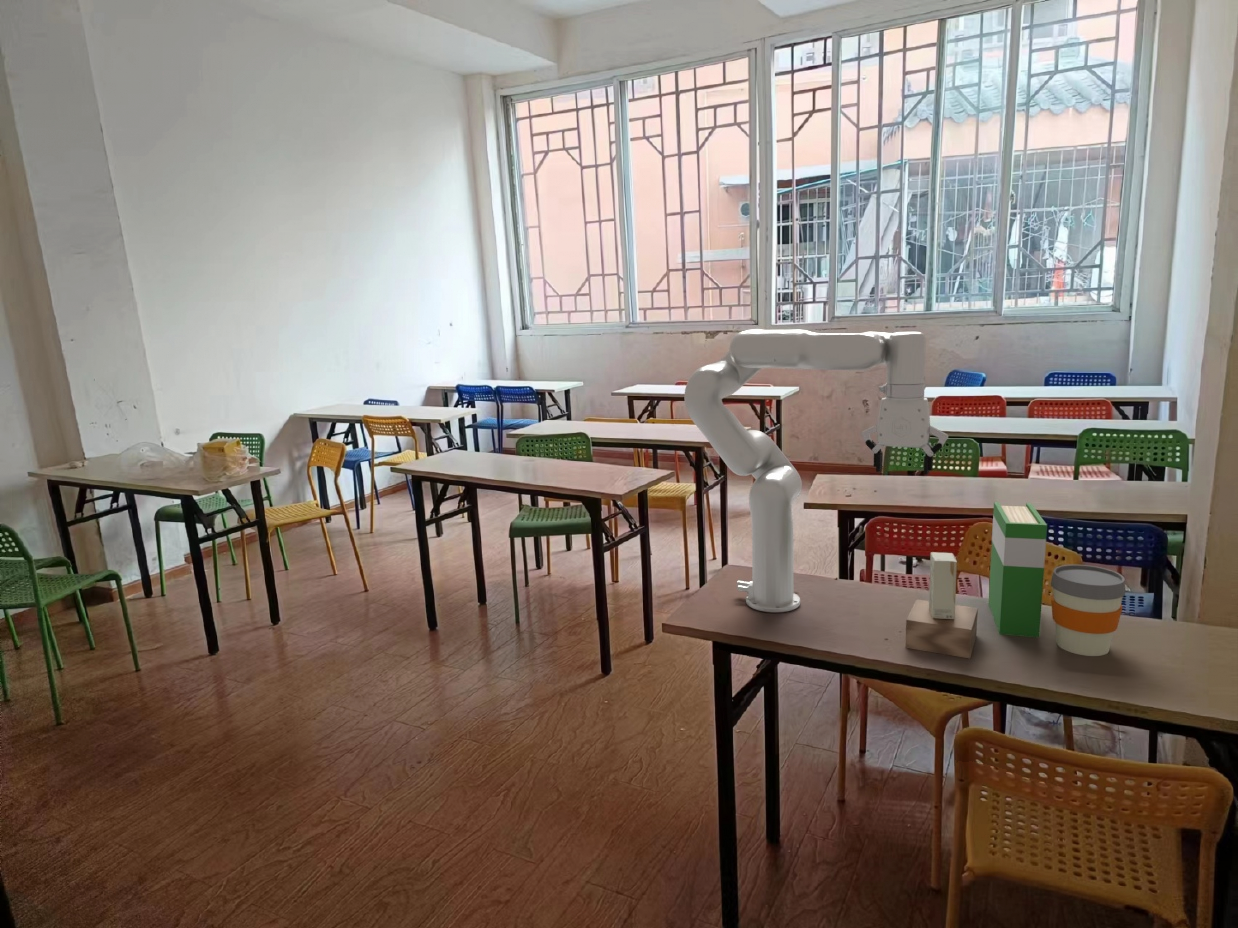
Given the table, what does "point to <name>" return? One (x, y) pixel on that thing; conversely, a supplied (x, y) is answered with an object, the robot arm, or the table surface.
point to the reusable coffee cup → (1086, 607)
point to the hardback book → (1017, 569)
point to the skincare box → (942, 585)
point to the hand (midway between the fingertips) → (902, 472)
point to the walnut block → (941, 630)
